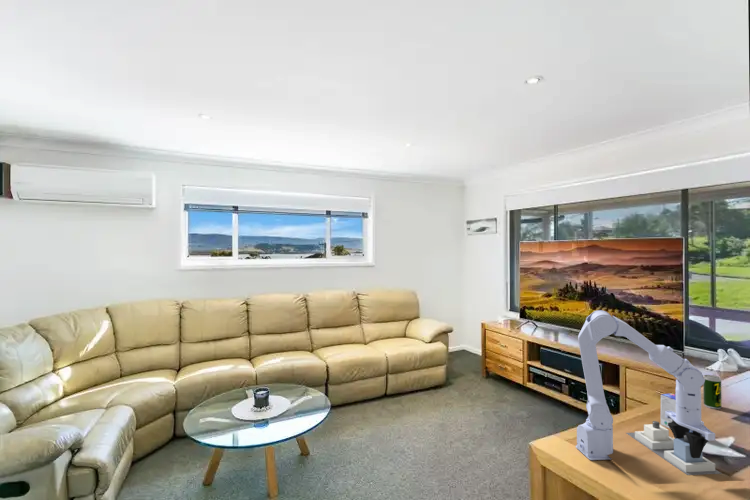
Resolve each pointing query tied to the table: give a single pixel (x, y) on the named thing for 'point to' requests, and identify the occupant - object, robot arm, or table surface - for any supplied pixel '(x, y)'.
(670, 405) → the ink cartridge box
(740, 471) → the table surface
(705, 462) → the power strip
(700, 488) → the table surface
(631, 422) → the table surface
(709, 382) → the beer can
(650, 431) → the cream plug
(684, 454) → the blue plug
